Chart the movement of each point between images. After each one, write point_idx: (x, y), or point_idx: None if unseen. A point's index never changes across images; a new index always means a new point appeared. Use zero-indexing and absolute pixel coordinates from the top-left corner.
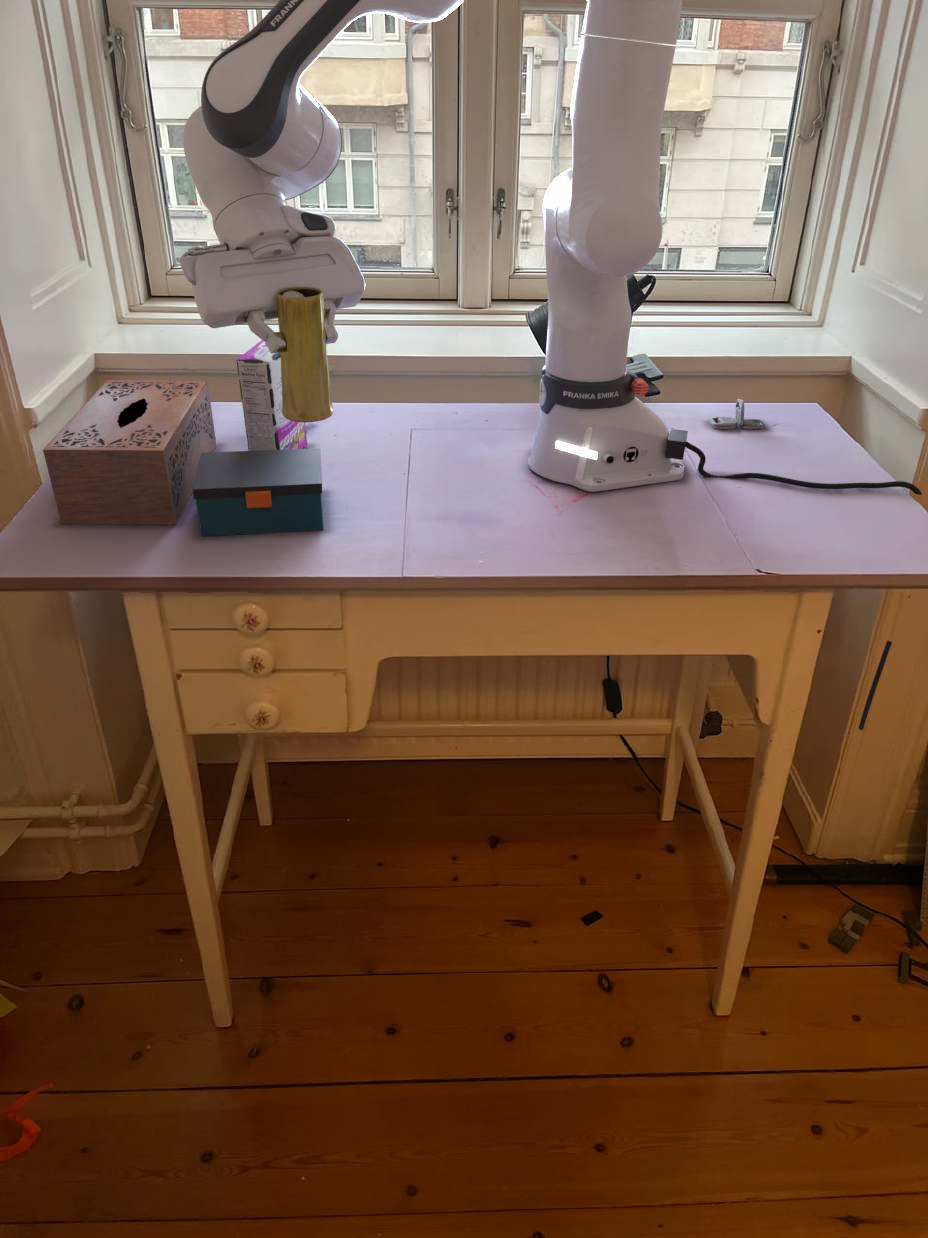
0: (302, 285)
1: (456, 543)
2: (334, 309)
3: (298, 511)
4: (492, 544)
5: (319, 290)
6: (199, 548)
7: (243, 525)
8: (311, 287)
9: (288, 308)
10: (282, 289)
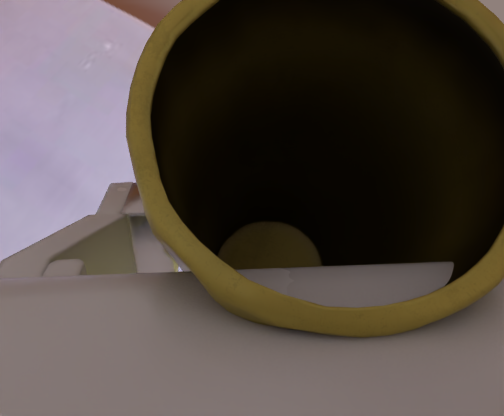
0: (193, 358)
1: (101, 106)
2: (21, 254)
3: None
4: (57, 75)
5: (148, 94)
6: None
7: None
8: (162, 214)
9: (453, 76)
10: (455, 286)
